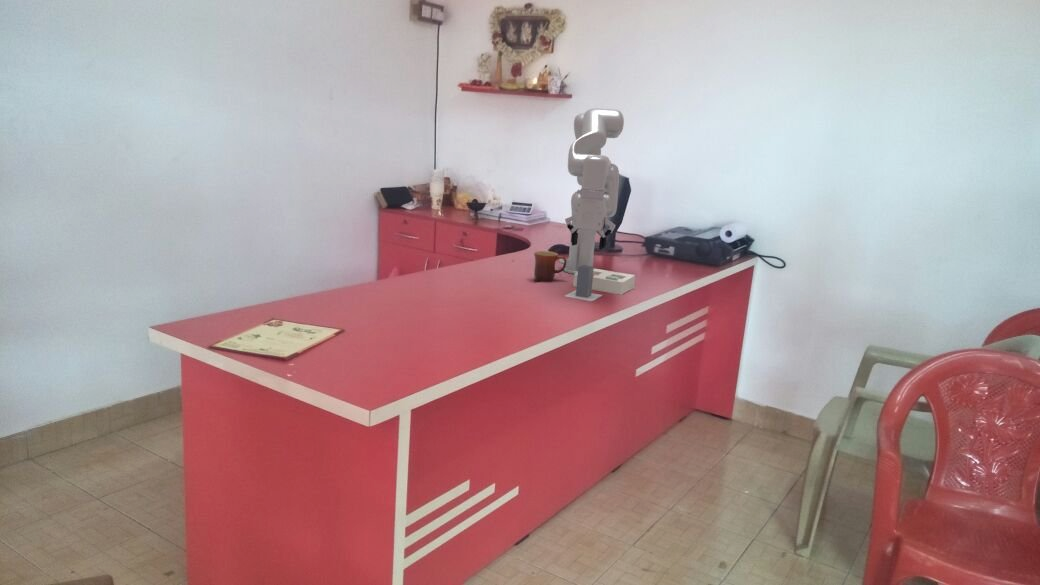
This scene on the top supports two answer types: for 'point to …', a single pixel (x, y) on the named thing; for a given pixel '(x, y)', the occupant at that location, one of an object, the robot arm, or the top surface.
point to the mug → (546, 265)
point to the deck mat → (590, 298)
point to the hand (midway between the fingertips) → (587, 246)
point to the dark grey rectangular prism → (584, 281)
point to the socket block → (610, 281)
